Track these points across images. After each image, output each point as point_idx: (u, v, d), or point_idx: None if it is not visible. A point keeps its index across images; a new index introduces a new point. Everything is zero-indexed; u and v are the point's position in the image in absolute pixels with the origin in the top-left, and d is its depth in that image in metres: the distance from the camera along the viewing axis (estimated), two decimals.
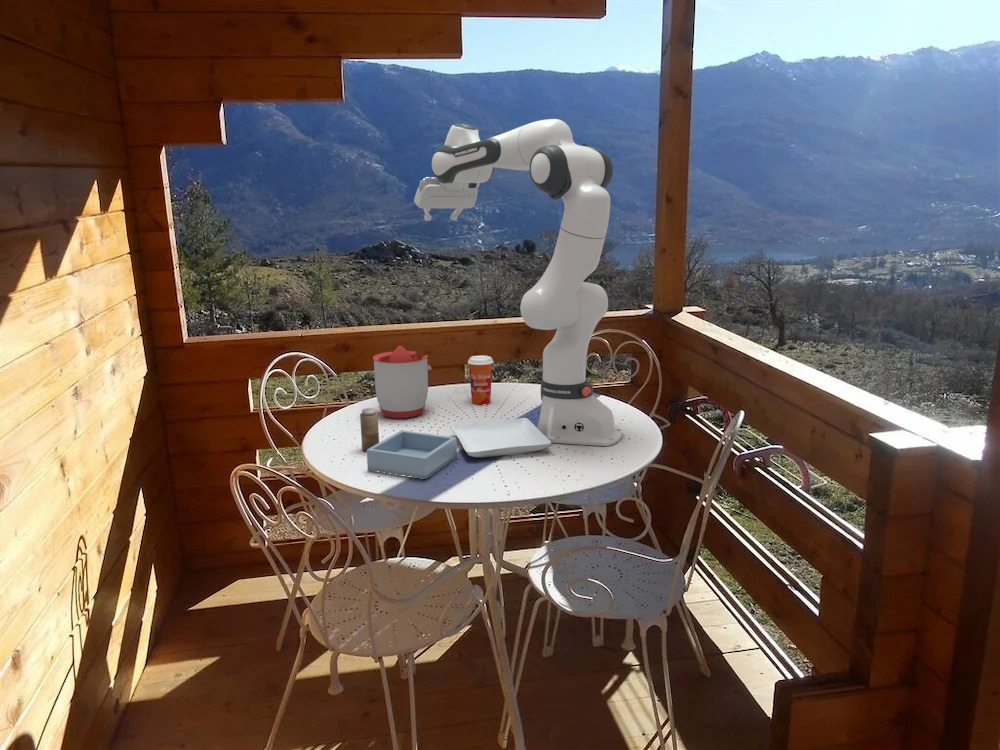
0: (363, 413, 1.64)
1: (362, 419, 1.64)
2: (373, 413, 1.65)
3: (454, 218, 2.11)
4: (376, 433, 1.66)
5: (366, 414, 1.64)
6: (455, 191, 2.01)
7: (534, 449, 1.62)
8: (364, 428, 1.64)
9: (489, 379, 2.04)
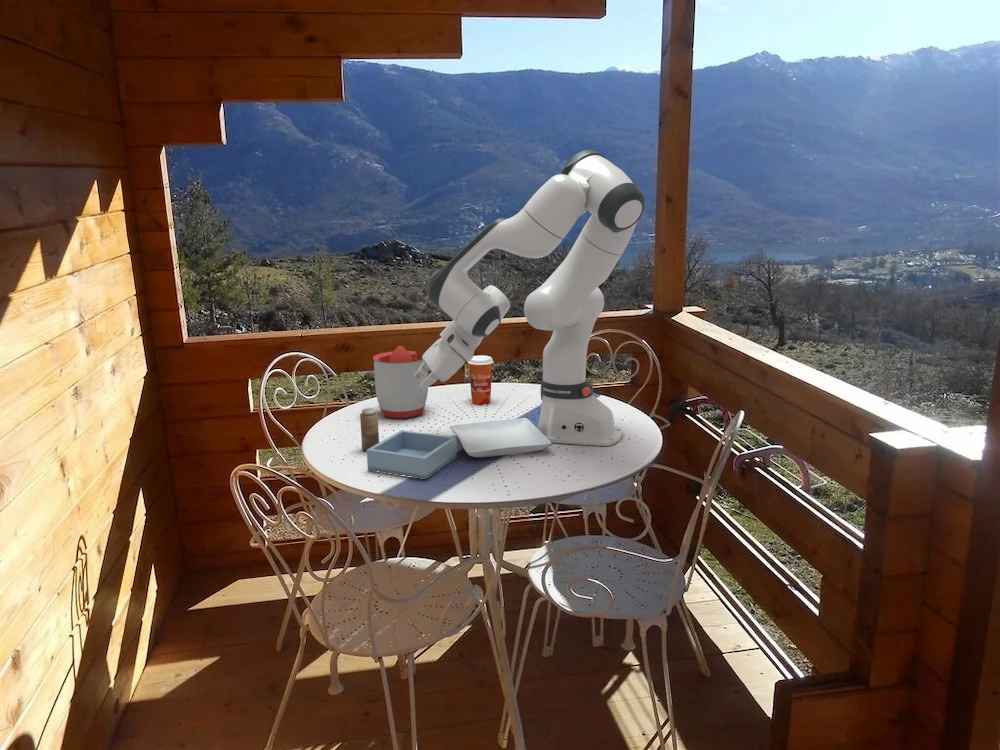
0: (363, 413, 1.64)
1: (362, 419, 1.64)
2: (373, 413, 1.65)
3: (421, 382, 1.62)
4: (376, 433, 1.66)
5: (366, 414, 1.64)
6: (440, 342, 1.65)
7: (534, 449, 1.63)
8: (363, 428, 1.64)
9: (489, 379, 2.04)
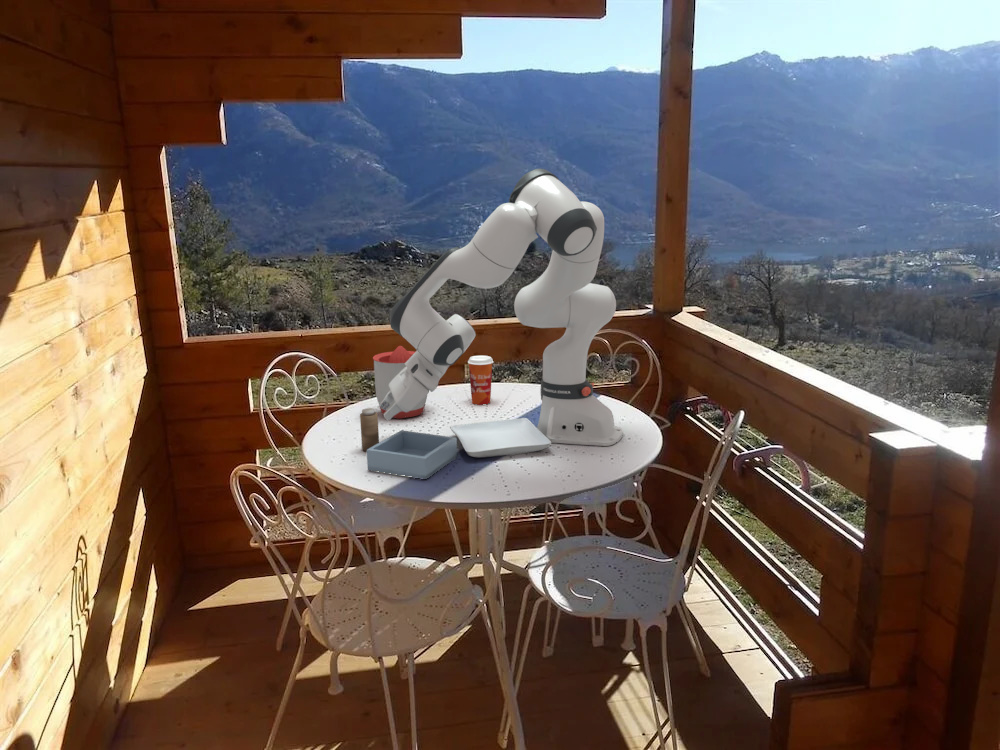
0: (363, 413, 1.64)
1: (362, 419, 1.64)
2: (373, 413, 1.65)
3: (385, 412, 1.61)
4: (376, 433, 1.66)
5: (366, 414, 1.64)
6: (405, 371, 1.64)
7: (534, 449, 1.63)
8: (363, 428, 1.64)
9: (489, 379, 2.04)
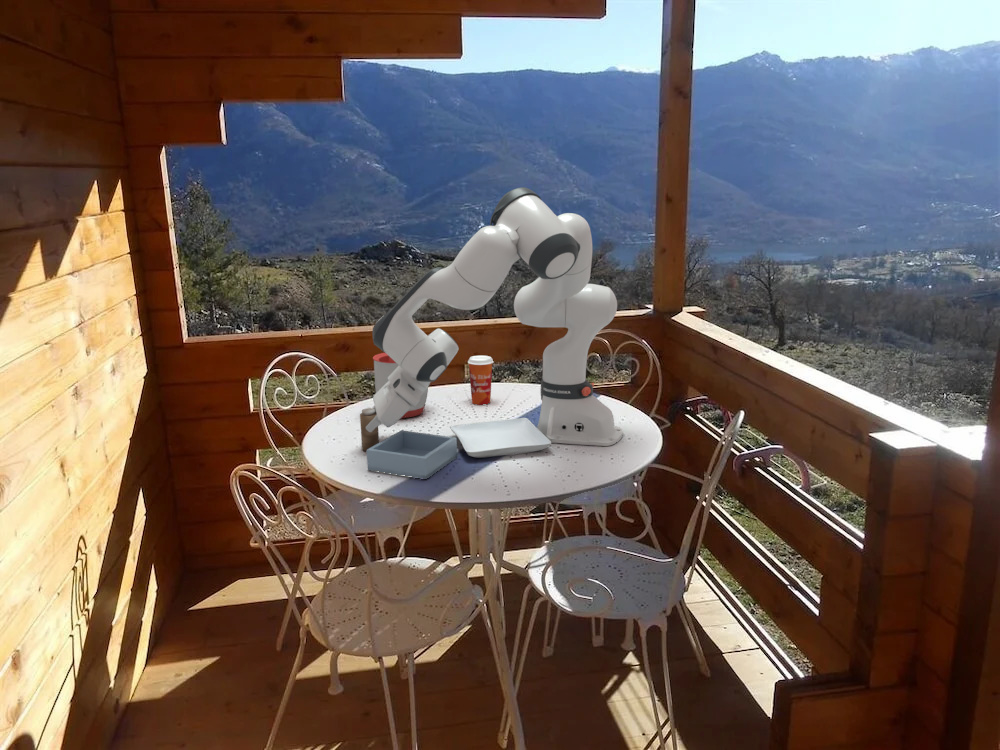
0: (363, 413, 1.64)
1: (362, 419, 1.64)
2: (373, 413, 1.65)
3: (367, 424, 1.63)
4: (376, 433, 1.66)
5: (366, 414, 1.64)
6: (388, 385, 1.65)
7: (534, 449, 1.63)
8: (363, 428, 1.64)
9: (489, 379, 2.04)
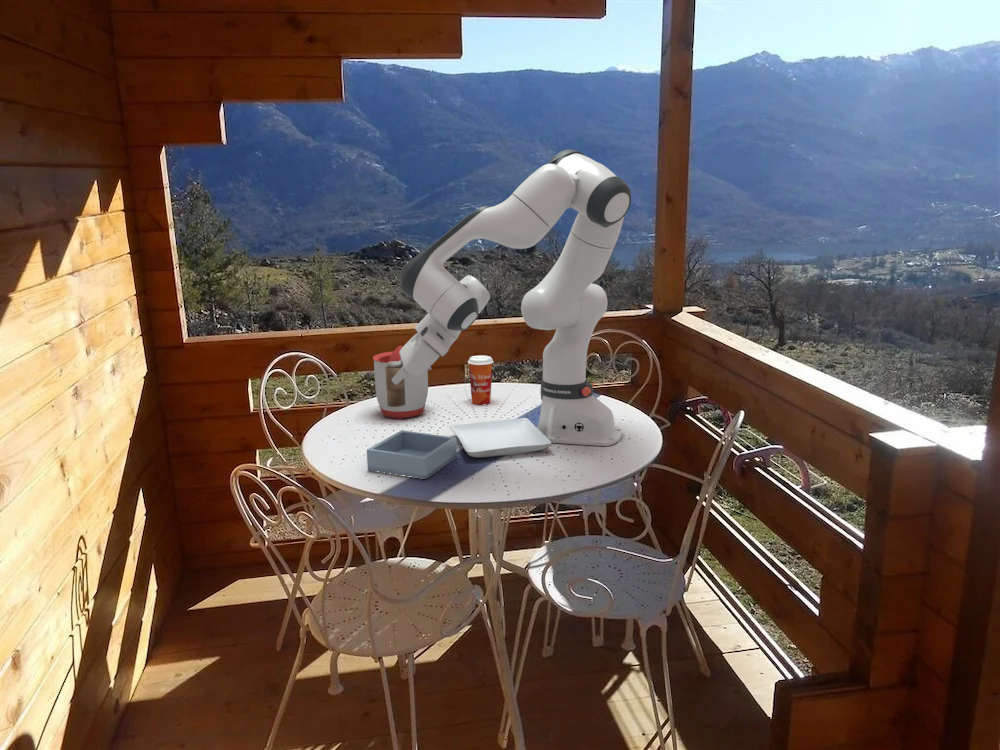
0: (388, 365, 1.55)
1: (387, 372, 1.55)
2: (399, 365, 1.55)
3: (393, 376, 1.54)
4: (402, 387, 1.56)
5: (392, 366, 1.55)
6: (415, 335, 1.55)
7: (535, 449, 1.63)
8: (389, 382, 1.55)
9: (489, 379, 2.04)
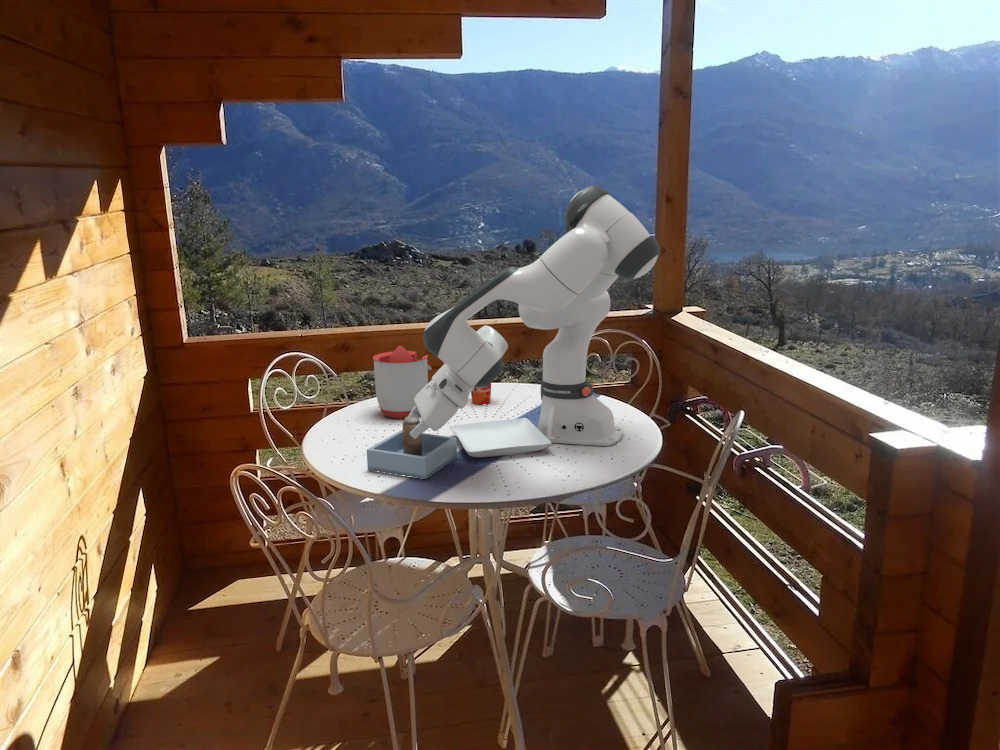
0: (406, 422, 1.54)
1: (405, 428, 1.54)
2: (416, 422, 1.54)
3: (411, 430, 1.51)
4: (419, 443, 1.55)
5: (409, 423, 1.53)
6: (432, 386, 1.54)
7: (535, 449, 1.63)
8: (406, 438, 1.54)
9: None
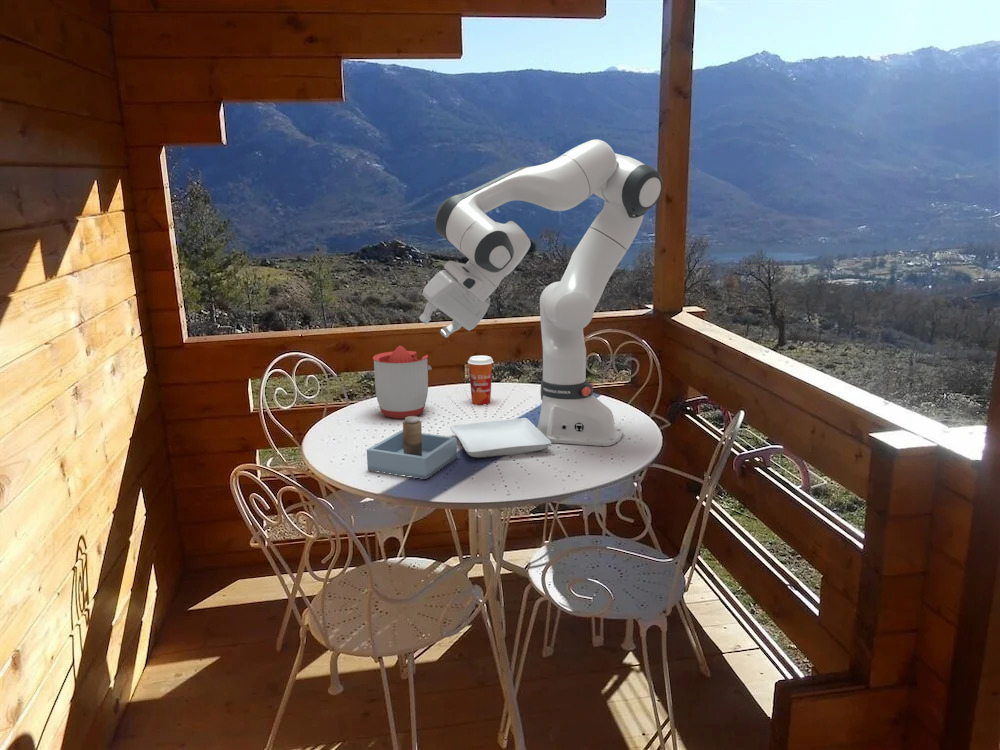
0: (406, 421, 1.54)
1: (405, 428, 1.54)
2: (417, 421, 1.54)
3: None
4: (420, 443, 1.55)
5: (410, 422, 1.54)
6: None
7: (535, 449, 1.63)
8: (407, 438, 1.54)
9: (489, 379, 2.04)
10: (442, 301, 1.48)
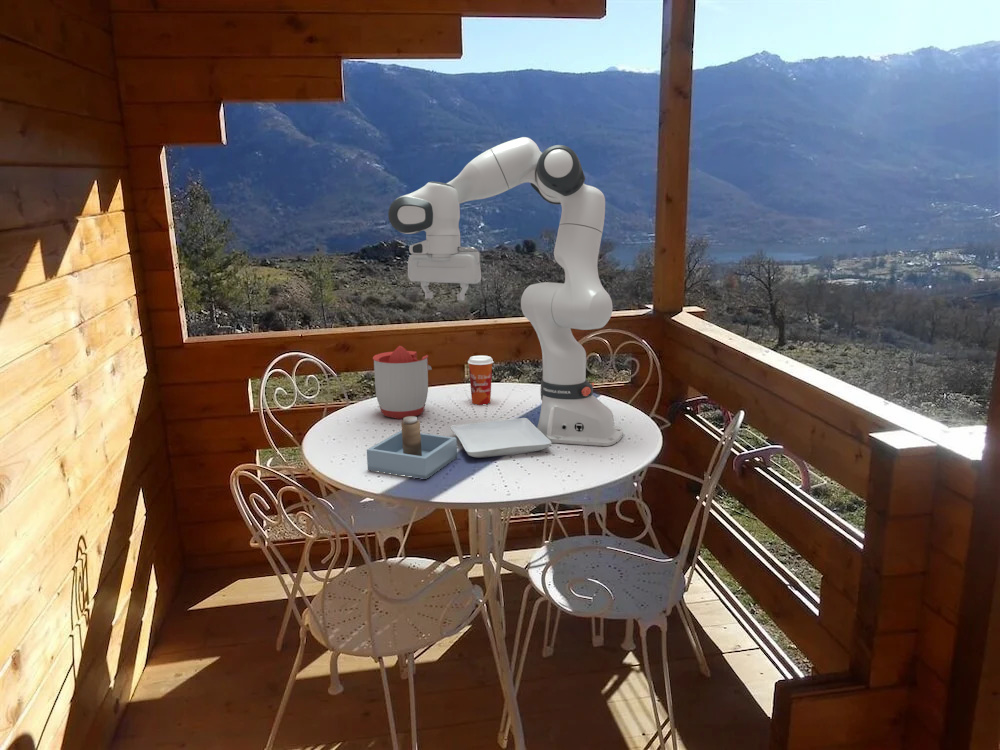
0: (405, 422, 1.54)
1: (404, 428, 1.54)
2: (415, 421, 1.54)
3: None
4: (419, 442, 1.55)
5: (408, 423, 1.53)
6: None
7: (535, 449, 1.63)
8: (406, 438, 1.54)
9: (489, 379, 2.04)
10: (419, 274, 1.79)
